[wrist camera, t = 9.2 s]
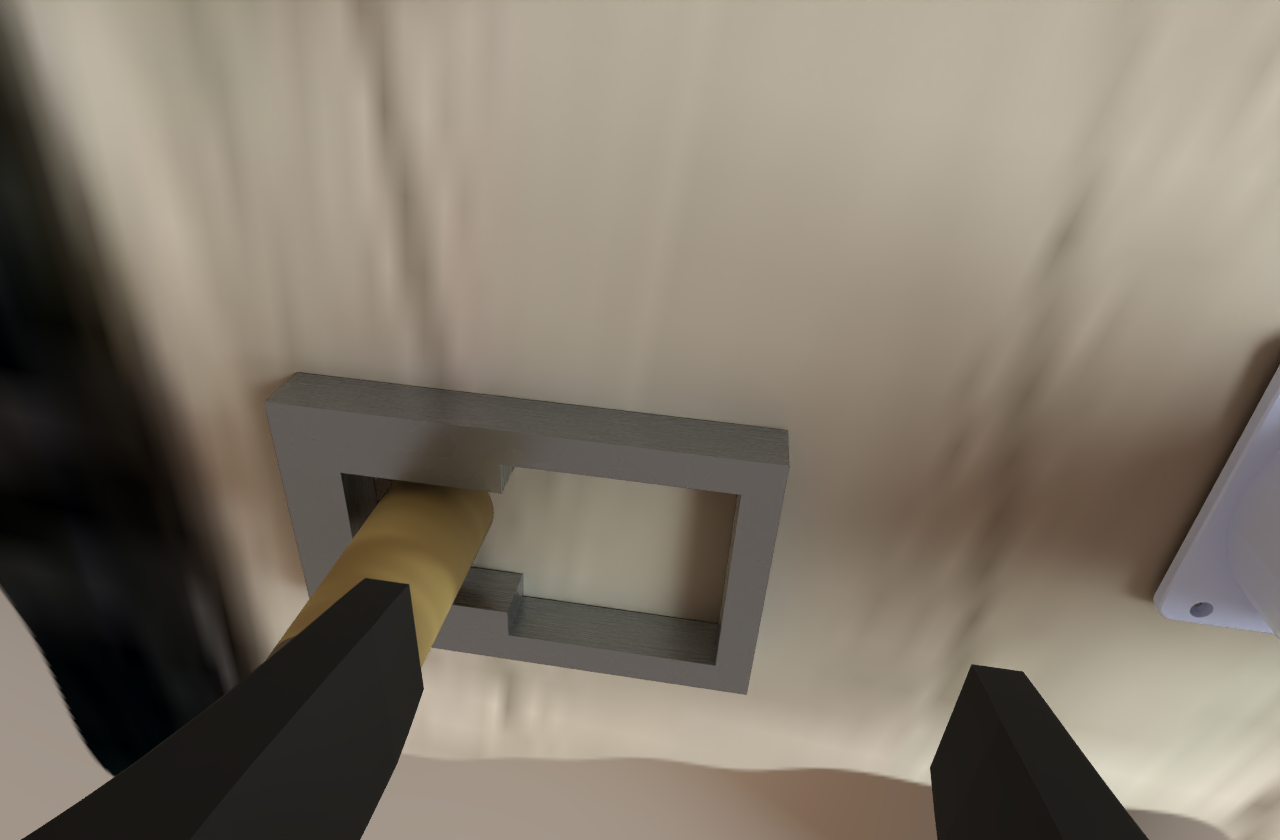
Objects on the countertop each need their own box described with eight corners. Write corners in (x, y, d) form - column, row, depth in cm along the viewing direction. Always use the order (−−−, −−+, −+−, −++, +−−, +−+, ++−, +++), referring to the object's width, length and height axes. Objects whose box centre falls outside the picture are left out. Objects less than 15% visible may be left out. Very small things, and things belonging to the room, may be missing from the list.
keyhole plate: (787, 430, 19) (789, 465, 18) (747, 651, 23) (746, 694, 22) (297, 372, 21) (263, 401, 19) (341, 593, 25) (317, 630, 23)
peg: (494, 471, 21) (366, 710, 15) (493, 552, 23) (377, 803, 16) (390, 452, 21) (215, 679, 15) (395, 534, 23) (240, 774, 16)
